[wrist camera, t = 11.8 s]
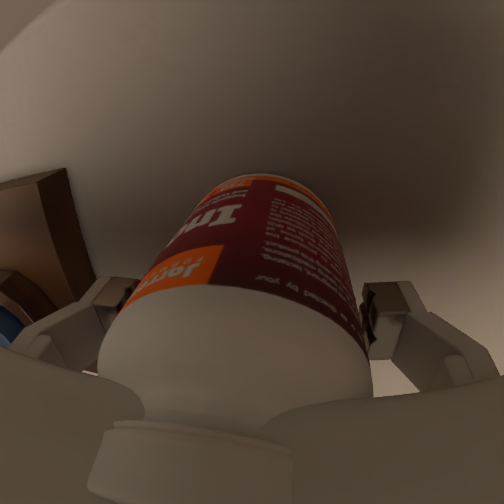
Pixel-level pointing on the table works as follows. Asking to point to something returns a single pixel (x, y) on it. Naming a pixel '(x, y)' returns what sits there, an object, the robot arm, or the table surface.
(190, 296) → the pill bottle
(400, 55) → the table surface
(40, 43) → the table surface
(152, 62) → the table surface
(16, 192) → the brown wooden block
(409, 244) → the table surface
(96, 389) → the robot arm
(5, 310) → the cylinder
